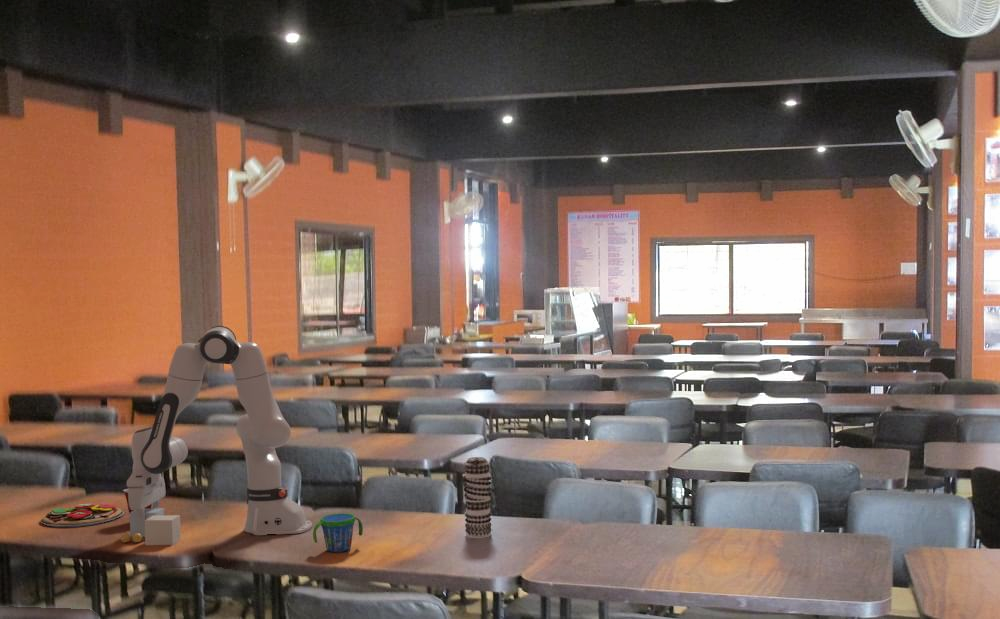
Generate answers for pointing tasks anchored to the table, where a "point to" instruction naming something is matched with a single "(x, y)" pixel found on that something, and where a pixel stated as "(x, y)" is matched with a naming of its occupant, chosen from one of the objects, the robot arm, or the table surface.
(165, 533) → the grey cuboid box
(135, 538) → the amber marble
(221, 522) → the table surface
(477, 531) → the decorative candle
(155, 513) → the white block
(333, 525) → the snack cup
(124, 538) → the amber marble
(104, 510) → the toy pizza
